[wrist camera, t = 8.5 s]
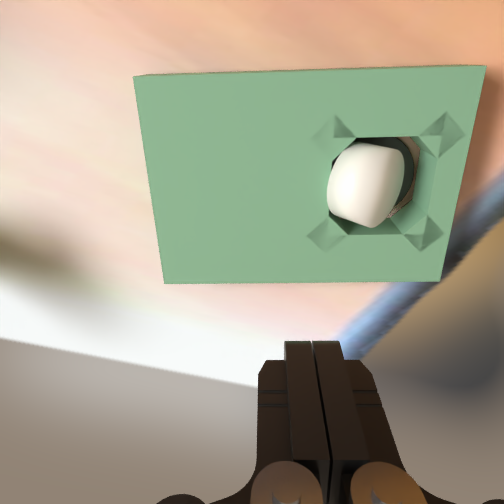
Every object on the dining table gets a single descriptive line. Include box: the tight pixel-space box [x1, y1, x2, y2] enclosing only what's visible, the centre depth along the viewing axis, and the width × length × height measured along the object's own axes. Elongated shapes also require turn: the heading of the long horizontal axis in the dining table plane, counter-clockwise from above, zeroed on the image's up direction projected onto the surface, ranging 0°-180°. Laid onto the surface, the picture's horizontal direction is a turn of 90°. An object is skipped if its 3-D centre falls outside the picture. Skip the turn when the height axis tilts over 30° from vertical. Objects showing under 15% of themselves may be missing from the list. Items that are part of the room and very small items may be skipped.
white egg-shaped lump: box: [327, 142, 404, 228], centre depth 25 cm, size 5×5×2 cm
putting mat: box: [133, 65, 487, 284], centre depth 27 cm, size 20×14×3 cm
